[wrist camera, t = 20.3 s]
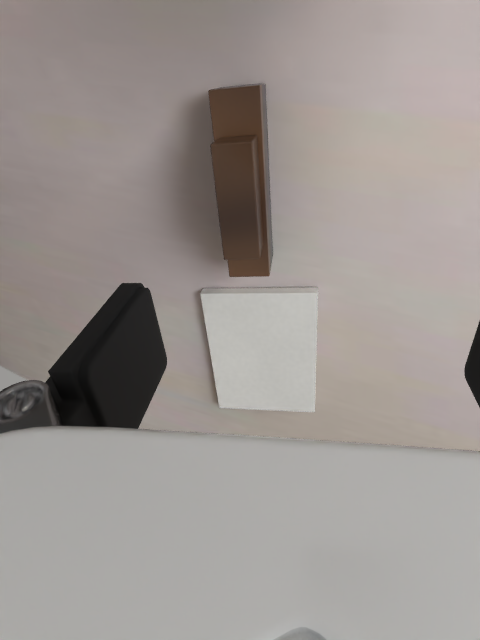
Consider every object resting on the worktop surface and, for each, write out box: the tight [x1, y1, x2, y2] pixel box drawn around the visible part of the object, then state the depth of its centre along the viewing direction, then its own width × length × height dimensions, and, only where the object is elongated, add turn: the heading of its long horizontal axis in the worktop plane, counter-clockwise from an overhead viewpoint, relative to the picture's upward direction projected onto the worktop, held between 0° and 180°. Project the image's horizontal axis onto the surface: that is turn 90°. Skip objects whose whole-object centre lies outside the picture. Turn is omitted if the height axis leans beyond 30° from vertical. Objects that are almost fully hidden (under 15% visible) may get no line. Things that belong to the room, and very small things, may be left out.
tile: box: [200, 287, 318, 412], centre depth 36 cm, size 14×10×1 cm
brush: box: [208, 83, 273, 277], centre depth 25 cm, size 12×3×6 cm, turn 5°
